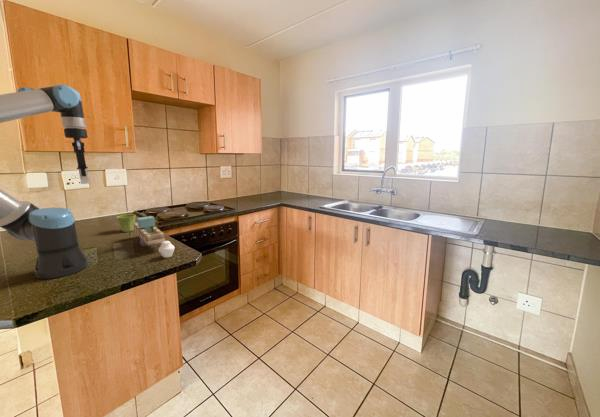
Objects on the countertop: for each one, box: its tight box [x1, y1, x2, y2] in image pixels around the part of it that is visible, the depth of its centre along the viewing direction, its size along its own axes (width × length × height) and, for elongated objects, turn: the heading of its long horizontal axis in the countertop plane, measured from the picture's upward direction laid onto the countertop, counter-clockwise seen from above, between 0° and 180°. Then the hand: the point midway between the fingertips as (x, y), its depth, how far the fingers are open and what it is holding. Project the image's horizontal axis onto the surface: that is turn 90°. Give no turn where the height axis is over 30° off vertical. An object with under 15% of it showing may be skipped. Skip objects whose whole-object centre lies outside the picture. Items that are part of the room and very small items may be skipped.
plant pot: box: [116, 213, 137, 233], centre depth 151 cm, size 9×9×9 cm
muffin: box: [158, 240, 175, 259], centre depth 112 cm, size 6×6×7 cm
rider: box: [136, 215, 156, 233], centre depth 127 cm, size 5×6×7 cm
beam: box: [133, 221, 166, 248], centre depth 128 cm, size 32×7×8 cm, turn 41°
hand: (85, 183), depth 117 cm, fingers closed
